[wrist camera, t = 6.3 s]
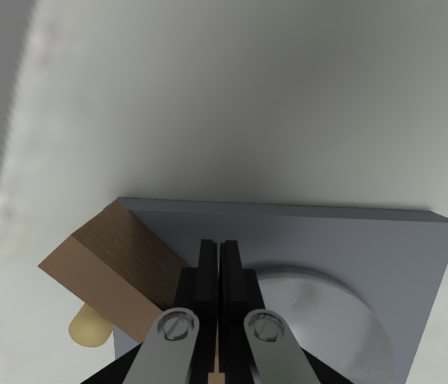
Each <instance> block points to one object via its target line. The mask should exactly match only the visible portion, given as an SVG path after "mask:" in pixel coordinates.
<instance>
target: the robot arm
mask: <svg viewBox="0 0 448 384" xmlns="http://www.w3.org/2000/svg"><path fill="white" fill-rule="evenodd" d="M217 318H218V362H219V373H224V375H225V384H354V383H353V382H351V381H350V380H348V379H347V378H346V377H344V376H343V375H341V374H340V373H338V372H337V371H335V370H334V369H332V368H331V367H330V366H328V365H327V364H325V363H324V362H322V361H321V360H319V359H318V358H316V357H315V356H314V355H312V354H311V353H309V352H308V351H306V350H305V349H303V348H302V347H300V345H299V343H298V342H297V340H296V338H295V336H294V334H293V332H292V331H291V329H290V327H289V325H288V323H287V322H286V321H285V319H284V318H283V317H281V316H280V315H279V314H277V313H275V312H273V311H270V310H266V308H265V304H264V301H263V297H262V293H261V290H260V286H259V283H258V279H257V276H256V272H255V270H254V269H243V268H242V263H241V258H240V253H239V248H238V243H237V240H225V243H221V244H220V260H219V277H218V256H217V243H213V239H201V245H200V253H199V261H198V267H182V269H181V273H180V277H179V282H178V286H177V290H176V294H175V299H174V303H173V307H172V309H168V310H166V311H164V312H162V313H161V314H160V315H159V316H157V318H156V319H155V320H154V322H153V324H152V326H151V328H150V330H149V332H148V334H147V336H146V338H145V340H144V341H143V342H142V343H140V344H139V345H137V346H136V347H134V348H133V349H131V350H130V351H128V352H127V353H125V354H124V355H122V356H121V357H119V358H118V359H116V360H115V361H113V362H112V363H110V364H109V365H107V366H106V367H104V368H103V369H101V370H100V371H98V372H97V373H95V374H94V375H92V376H91V377H90V378H88V379H87V380H85V381H84V382H82V383H81V384H208V373H214V368H215V351H216V335H217Z"/></svg>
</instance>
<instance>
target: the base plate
mask: <svg viewBox="0 0 448 384" xmlns="http://www.w3.org/2000/svg"><path fill="white" fill-rule="evenodd" d="M116 200H117V201H118V202H119V203H120V204H121V205H123V206H124V207H125V208H126V209H127V210H128V211H129V212H130V213H131V214H132V215H133V216H134V217H136V218H137V219H138V220H139V221H140V222H141V223H142V224H143V225H144V226H145V227H146V228H147V229H148V230H150V231H151V232H152V233H153V234H154V235H155V236H156V237H157V238H158V239H159V240H160V241H161V242H162V243H164V244H165V245H166V246H167V247H168V248H169V249H170V250H171V251H172V252H173V253H174V254H175V255H176V256H178V257H179V258H180V259H181V260H182V261H183V262H184V263H185V264H186V265H187V266H188V267H198V261H199V253H200V245H201V239H213V243H217V256H218V277H219V260H220V244H221V243H225V240H237V243H238V248H239V253H240V258H241V263H242V268H243V269H260V268H267V267H295V268H303V269H308V270H312V271H316V272H319V273H322V274H325V275H328V276H330V277H332V278H334V279H336V280H338V281H340V282H341V283H343V284H344V285H346V286H347V287H348V288H350V289H351V290H352V291H353V292H354V293H355V294H356V295H357V296H358V297H359V298H360V299H361V300H362V301H363V302H364V303H365V304H366V305H367V307H368V308H369V309H370V310H371V311H372V312H373V314H374V315H375V316H376V317H377V318H378V320H379V321H380V322H381V324H382V325H383V327H384V328H385V330H386V332H387V334H388V336H389V338H390V341H391V345H392V348H393V355H394V370H393V376H392V380H391V384H405V382H406V380H407V377H408V374H409V371H410V368H411V365H412V363H413V360H414V357H415V354H416V351H417V349H418V346H419V343H420V340H421V337H422V334H423V332H424V329H425V326H426V323H427V320H428V318H429V315H430V312H431V309H432V306H433V303H434V301H435V298H436V295H437V292H438V289H439V286H440V284H441V281H442V278H443V275H444V272H445V270H446V267H447V264H448V218H447V217H444V216H442V215H439V214H436V213H434V212H431V211H413V210H390V209H366V208H343V207H320V206H297V205H274V204H251V203H228V202H204V201H181V200H158V199H135V198H117V199H116ZM116 200H115V201H116ZM115 201H113V202H115ZM113 202H112V203H113ZM112 203H111V204H112ZM111 204H109V205H111ZM109 205H108V206H109ZM108 206H107V207H108ZM107 207H105V208H107ZM105 208H104V209H105ZM104 209H103V210H104ZM112 330H113V335H114V347H115V360H116V359H118V358H119V357H121V356H122V355H124V354H125V353H127V352H128V351H130V350H131V349H133V348H134V347H136V346H137V345H139V343H137V342H136V341H135V340H133V339H132V338H131V337H129V336H128V335H127V334H126V333H124V332H123V331H122V330H120V329H119V328H118V327H116V326H115V325H114V324H112V323H111V322H110V321H109V320H107V319H106V318H105V317H103V316H102V315H101V314H99V313H98V312H97V311H95V310H94V309H93V308H92V307H90V306H89V305H88V304H86V303H85V304H84V305H83V307H82V308H81V309H80V311H79V312H78V314H77V315H76V316H75V318H74V319H73V320H72V322H71V323H70V325H69V334H70V336H71V338H72V339H73V340H74V341H75V342H76V343H78V344H79V345H82V346H85V347H98V346H100V345H102V344H104V343H105V342H106V341H107V340H108V338H109V336H110V334H111V332H112Z"/></svg>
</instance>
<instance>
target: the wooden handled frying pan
mask: <svg viewBox="0 0 448 384" xmlns="http://www.w3.org/2000/svg"><path fill="white" fill-rule="evenodd" d="M38 267H39V268H41V269H42V270H43V271H44V272H46V273H47V274H48V275H50V276H51V277H52V278H54V279H55V280H56V281H58V282H59V283H60V284H61V285H63V286H64V287H65V288H67V289H68V290H69V291H71V292H72V293H73V294H75V295H76V296H77V297H78V298H80V299H81V300H82V301H84V302H85V303H86V304H88V305H89V306H90V307H92V308H93V309H94V310H95V311H97V312H98V313H99V314H101V315H102V316H103V317H105V318H106V319H107V320H109V321H110V322H111V323H112V324H114V325H115V326H116V327H118V328H119V329H120V330H122V331H123V332H124V333H126V334H127V335H128V336H129V337H131V338H132V339H133V340H135V341H136V342H137V343H139V344H140V343H142V342H143V341H144V340H145V338H146V336H147V334H148V332H149V330H150V328H151V326H152V324H153V322H154V320H155V319H156V318H157V316H159V315H160V314H161V313H162V312H164V311H166V310H168V309H172V307H173V303H174V299H175V294H176V290H177V286H178V282H179V277H180V273H181V269H182V267H188V266H187V265H186V264H185V263H184V262H183V261H182V260H181V259H180V258H179V257H178V256H176V255H175V254H174V253H173V252H172V251H171V250H170V249H169V248H168V247H167V246H166V245H165V244H164V243H162V242H161V241H160V240H159V239H158V238H157V237H156V236H155V235H154V234H153V233H152V232H151V231H150V230H148V229H147V228H146V227H145V226H144V225H143V224H142V223H141V222H140V221H139V220H138V219H137V218H136V217H134V216H133V215H132V214H131V213H130V212H129V211H128V210H127V209H126V208H125V207H124V206H123V205H121V204H120V203H119V202H118V201H117V200H116V201H115V202H113V203H112V204H111V205H109V206H108V207H107V208H105V209H104V210H103V211H101V212H100V213H99V214H98V215H96V216H95V217H94V218H92V219H91V220H90V221H88V222H87V223H86V224H84V225H83V226H82V227H80V228H79V229H78V230H76V231H75V232H74V233H72V234H71V235H70V236H69V237H68V238H67V239H66V240H65V241H64V242H63V243H61V244H60V245H59V246H58V247H57V248H56V249H55V250H54V251H53V252H52V253H51V254H50V255H49V256H48V257H47V258H45V259H44V260H43V261H42V262H41V263H40V264H39V265H38ZM254 270H255V272H256V276H257V279H258V283H259V286H260V290H261V293H262V297H263V301H264V304H265V308H266V310H270V311H273V312H275V313H277V314H279V315H280V316H281V317H283V318H284V319H285V321H286V322H287V323H288V325H289V327H290V329H291V331H292V332H293V334H294V336H295V338H296V340H297V342H298V343H299V345H300V347H302V348H303V349H305V350H306V351H308V352H309V353H311V354H312V355H314V356H315V357H316V358H318V359H319V360H321V361H322V362H324V363H325V364H327V365H328V366H330V367H331V368H332V369H334V370H335V371H337V372H338V373H340V374H341V375H343V376H344V377H346V378H347V379H348V380H350V381H351V382H353V383H354V384H391V380H392V376H393V370H394V355H393V348H392V345H391V341H390V338H389V336H388V334H387V332H386V330H385V328H384V327H383V325H382V324H381V322H380V321H379V320H378V318H377V317H376V316H375V315H374V314H373V312H372V311H371V310H370V309H369V308H368V307H367V305H366V304H365V303H364V302H363V301H362V300H361V299H360V298H359V297H358V296H357V295H356V294H355V293H354V292H353V291H352V290H351V289H350V288H348V287H347V286H346V285H344V284H343V283H341V282H340V281H338V280H336V279H334V278H332V277H330V276H328V275H325V274H322V273H319V272H316V271H312V270H308V269H303V268H295V267H267V268H260V269H254ZM208 384H225V375H224V373H219V362H218V318H217V335H216V351H215V368H214V373H208Z"/></svg>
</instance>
